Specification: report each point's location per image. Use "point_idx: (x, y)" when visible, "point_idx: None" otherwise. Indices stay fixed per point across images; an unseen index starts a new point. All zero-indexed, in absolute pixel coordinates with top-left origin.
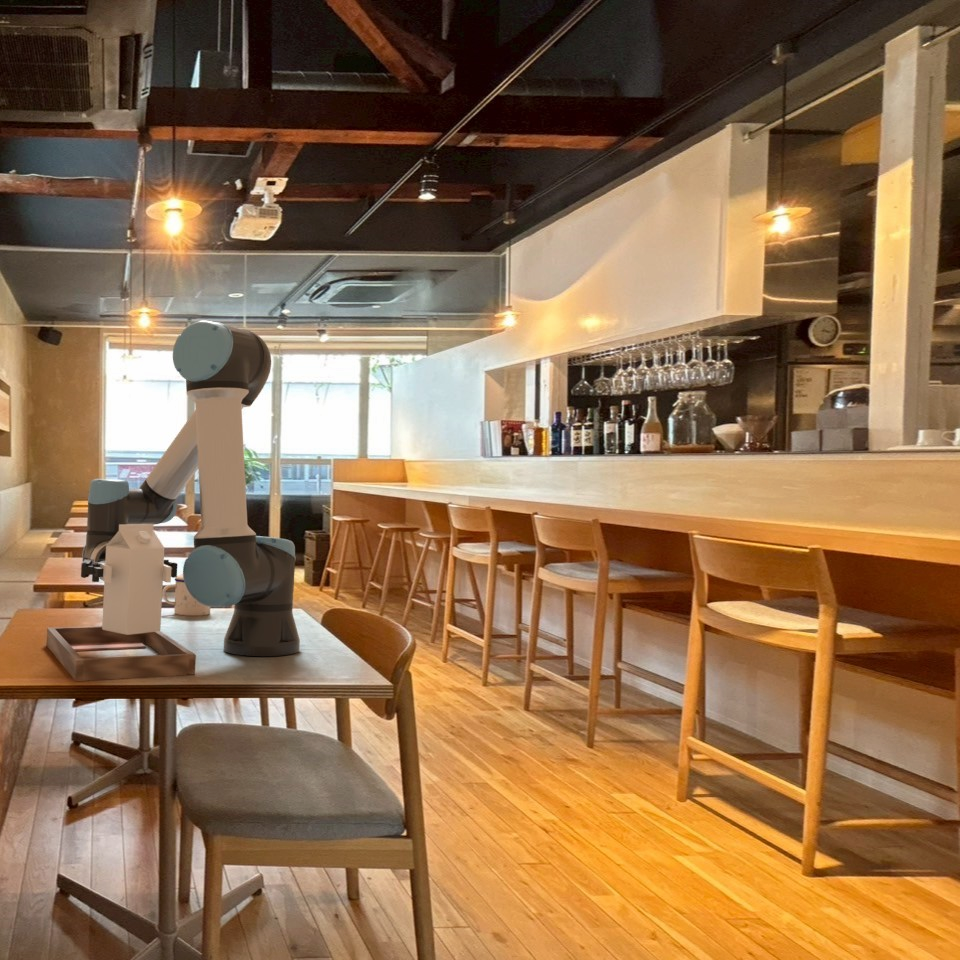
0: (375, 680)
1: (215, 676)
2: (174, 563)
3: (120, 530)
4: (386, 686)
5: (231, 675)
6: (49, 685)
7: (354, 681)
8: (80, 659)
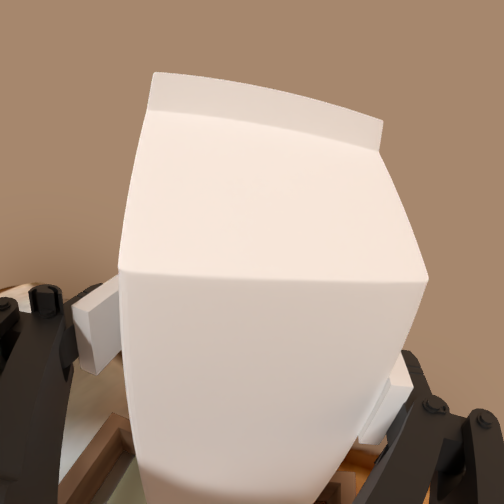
0: (15, 294)
1: (103, 408)
2: (8, 301)
3: (370, 148)
4: (37, 282)
5: (79, 397)
6: None
7: (29, 302)
8: (346, 478)
